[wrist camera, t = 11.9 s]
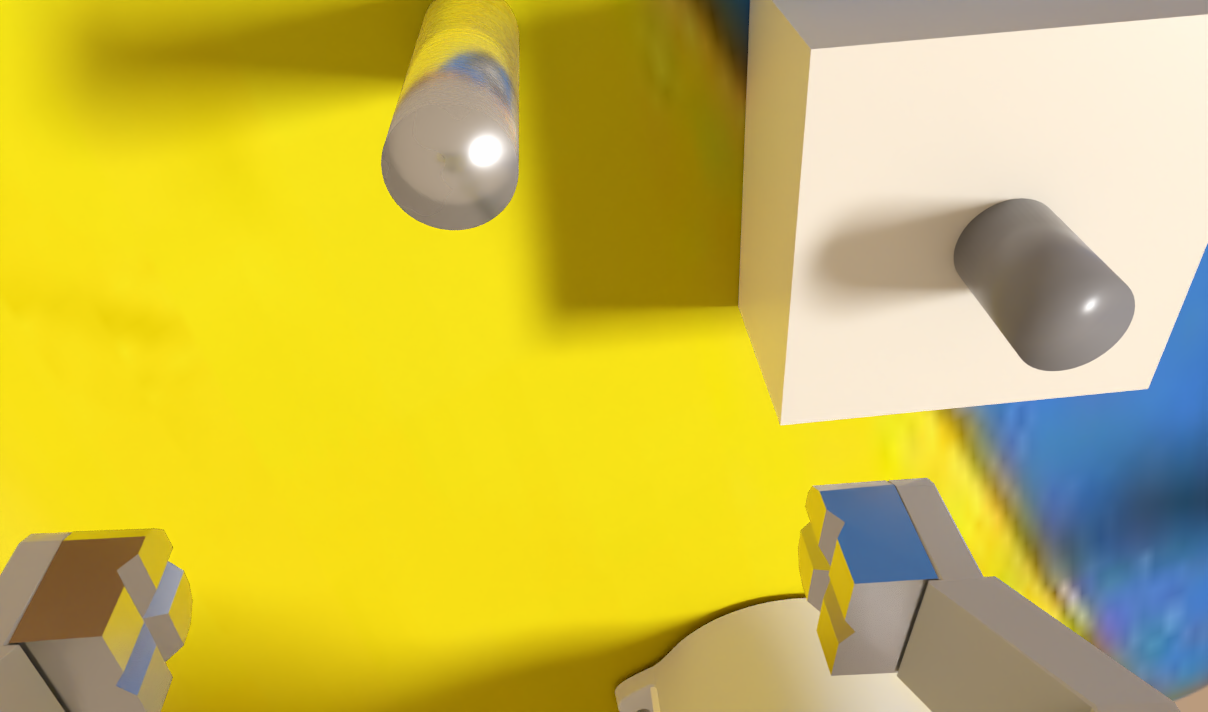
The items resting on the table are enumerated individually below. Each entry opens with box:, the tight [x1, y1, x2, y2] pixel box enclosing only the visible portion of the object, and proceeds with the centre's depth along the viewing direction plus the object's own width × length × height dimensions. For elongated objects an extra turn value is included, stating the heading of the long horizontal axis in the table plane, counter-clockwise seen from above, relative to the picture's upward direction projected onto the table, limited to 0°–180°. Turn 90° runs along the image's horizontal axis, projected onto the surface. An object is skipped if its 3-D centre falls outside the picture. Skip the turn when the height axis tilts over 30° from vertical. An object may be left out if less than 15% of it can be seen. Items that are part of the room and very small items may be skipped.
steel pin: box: [381, 0, 519, 230], centre depth 24 cm, size 3×3×10 cm
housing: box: [738, 0, 1208, 425], centre depth 27 cm, size 12×12×11 cm
